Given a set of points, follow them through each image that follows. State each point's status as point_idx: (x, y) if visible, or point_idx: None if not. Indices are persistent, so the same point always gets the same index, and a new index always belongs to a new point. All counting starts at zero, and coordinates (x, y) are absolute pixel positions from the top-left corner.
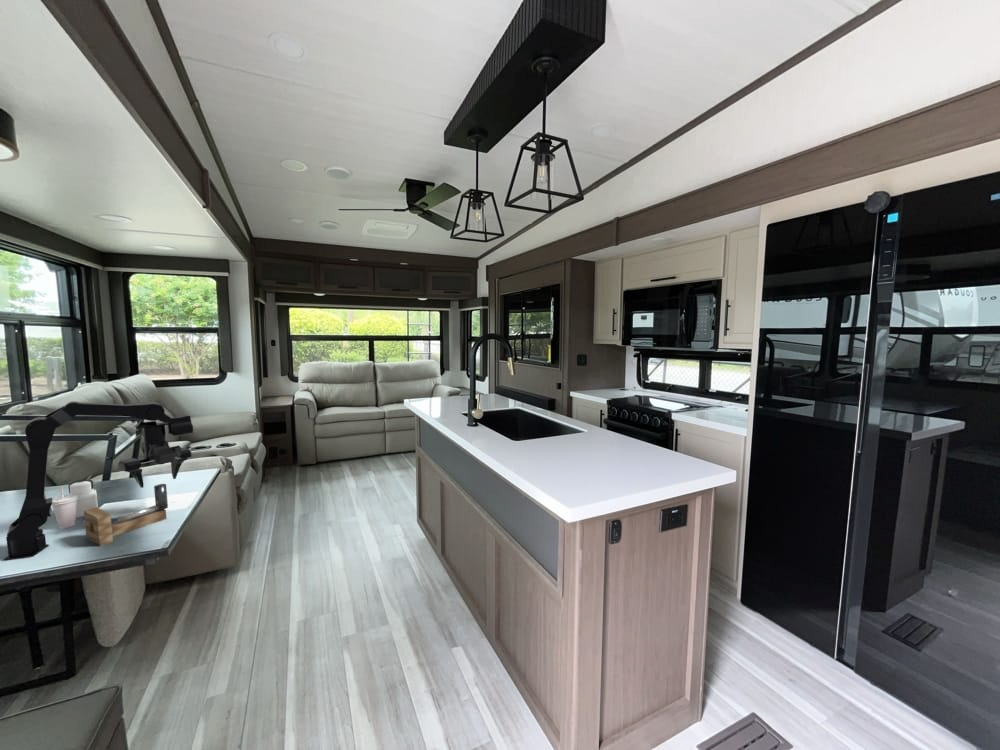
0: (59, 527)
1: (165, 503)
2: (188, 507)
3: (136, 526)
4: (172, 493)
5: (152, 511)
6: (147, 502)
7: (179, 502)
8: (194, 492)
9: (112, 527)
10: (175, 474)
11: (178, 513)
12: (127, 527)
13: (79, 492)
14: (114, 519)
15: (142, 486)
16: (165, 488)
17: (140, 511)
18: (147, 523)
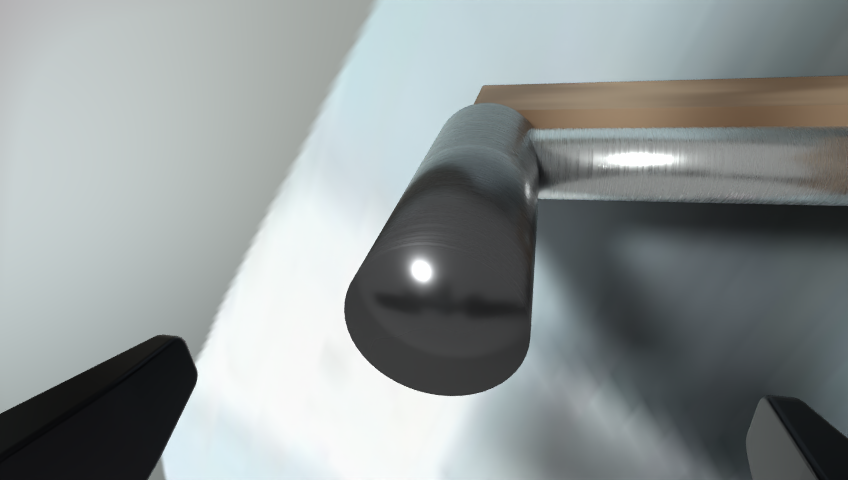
0: None
1: (459, 126)
2: (291, 180)
3: (745, 85)
4: (302, 471)
5: (595, 128)
6: (433, 473)
7: (310, 324)
8: (210, 391)
9: None
10: (83, 391)
11: (378, 120)
12: (842, 88)
13: None
14: (673, 411)
15: (803, 415)
16: (391, 224)
17: (730, 148)
18: (643, 86)
